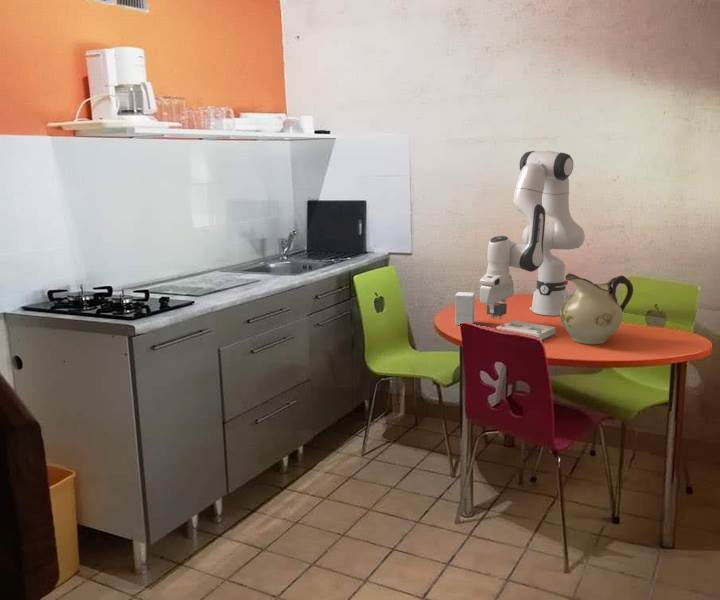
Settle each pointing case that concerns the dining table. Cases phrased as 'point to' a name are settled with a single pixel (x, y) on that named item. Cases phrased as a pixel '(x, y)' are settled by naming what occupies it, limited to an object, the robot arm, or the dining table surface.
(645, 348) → the dining table surface
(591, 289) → the pitcher
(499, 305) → the plug
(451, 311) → the dining table surface
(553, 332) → the double socket
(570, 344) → the dining table surface
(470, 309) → the supplement box
